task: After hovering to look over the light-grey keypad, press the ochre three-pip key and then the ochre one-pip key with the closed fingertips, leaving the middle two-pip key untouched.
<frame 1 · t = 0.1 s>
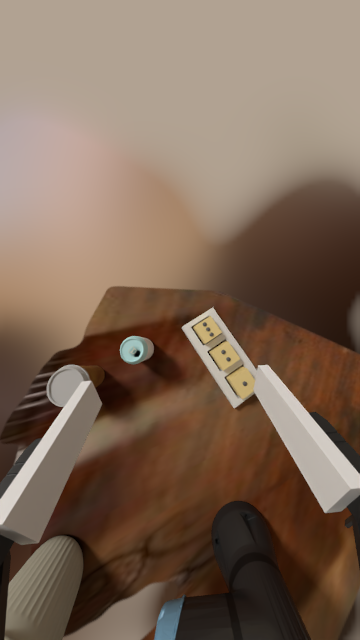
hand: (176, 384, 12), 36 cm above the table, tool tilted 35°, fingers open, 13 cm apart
two pip key: (224, 355, 44), point 4 cm above the table, slide at 0.0 cm
three pip key: (207, 329, 45), point 4 cm above the table, slide at 0.0 cm
one pip key: (242, 381, 42), point 4 cm above the table, slide at 0.0 cm
keypad base: (220, 354, 47), on the table
disposable coffee cup: (95, 376, 46), on the table
canister: (62, 559, 38), on the table
can: (143, 348, 48), on the table
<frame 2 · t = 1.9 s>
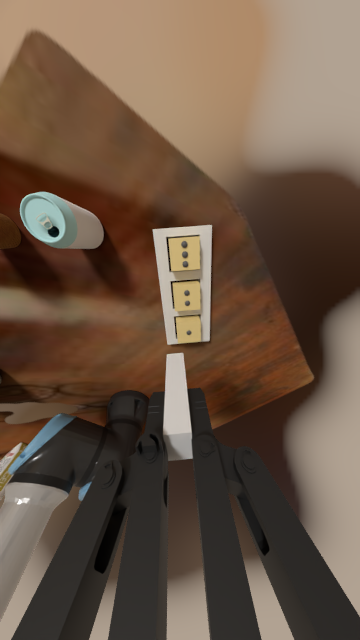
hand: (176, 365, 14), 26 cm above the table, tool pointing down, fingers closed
two pip key: (186, 296, 35), point 4 cm above the table, slide at 0.0 cm
three pip key: (184, 254, 31), point 4 cm above the table, slide at 0.0 cm
one pip key: (188, 329, 38), point 4 cm above the table, slide at 0.0 cm
keypad base: (185, 292, 38), on the table
disposable coffee cup: (5, 231, 31), on the table
can: (88, 230, 31), on the table
juice carton: (24, 447, 64), on the table
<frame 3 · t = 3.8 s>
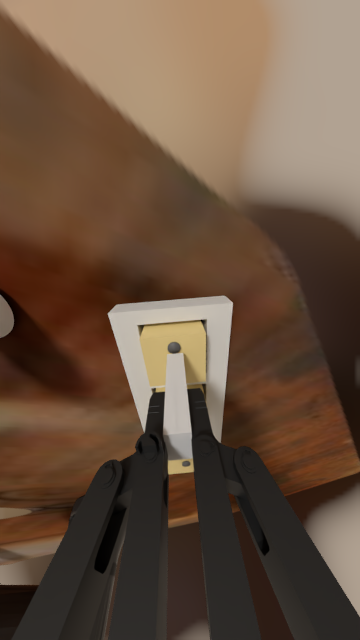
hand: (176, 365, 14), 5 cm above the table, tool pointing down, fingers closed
two pip key: (182, 412, 19), point 4 cm above the table, slide at 0.0 cm
three pip key: (176, 351, 16), point 3 cm above the table, slide at 0.9 cm, touching gripper
one pip key: (185, 449, 23), point 4 cm above the table, slide at 0.0 cm
keypad base: (179, 388, 22), on the table
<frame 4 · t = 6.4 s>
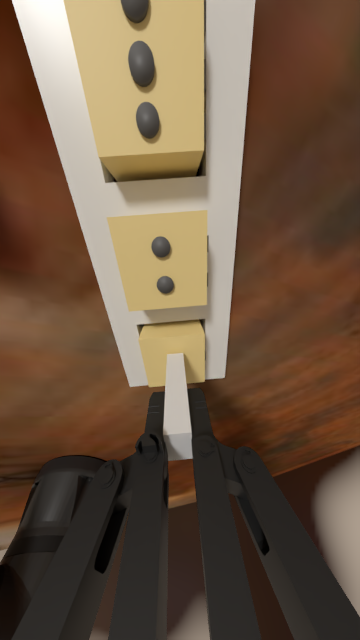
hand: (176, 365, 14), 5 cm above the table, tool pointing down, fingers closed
two pip key: (165, 264, 11), point 4 cm above the table, slide at 0.0 cm
three pip key: (148, 99, 9), point 3 cm above the table, slide at 1.0 cm
one pip key: (175, 352, 16), point 3 cm above the table, slide at 0.7 cm, touching gripper
keypad base: (165, 262, 15), on the table
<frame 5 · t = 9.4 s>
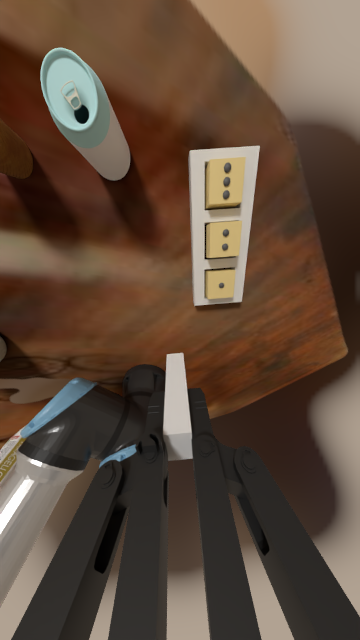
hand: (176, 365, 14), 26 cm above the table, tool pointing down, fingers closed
two pip key: (223, 240, 30), point 4 cm above the table, slide at 0.0 cm
three pip key: (224, 185, 27), point 3 cm above the table, slide at 1.0 cm
one pip key: (219, 283, 35), point 3 cm above the table, slide at 1.0 cm
keypad base: (217, 241, 33), on the table
disposable coffee cup: (14, 156, 26), on the table
can: (111, 157, 27), on the table
juice carton: (30, 430, 59), on the table
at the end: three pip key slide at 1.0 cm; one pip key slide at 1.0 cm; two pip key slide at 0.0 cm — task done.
